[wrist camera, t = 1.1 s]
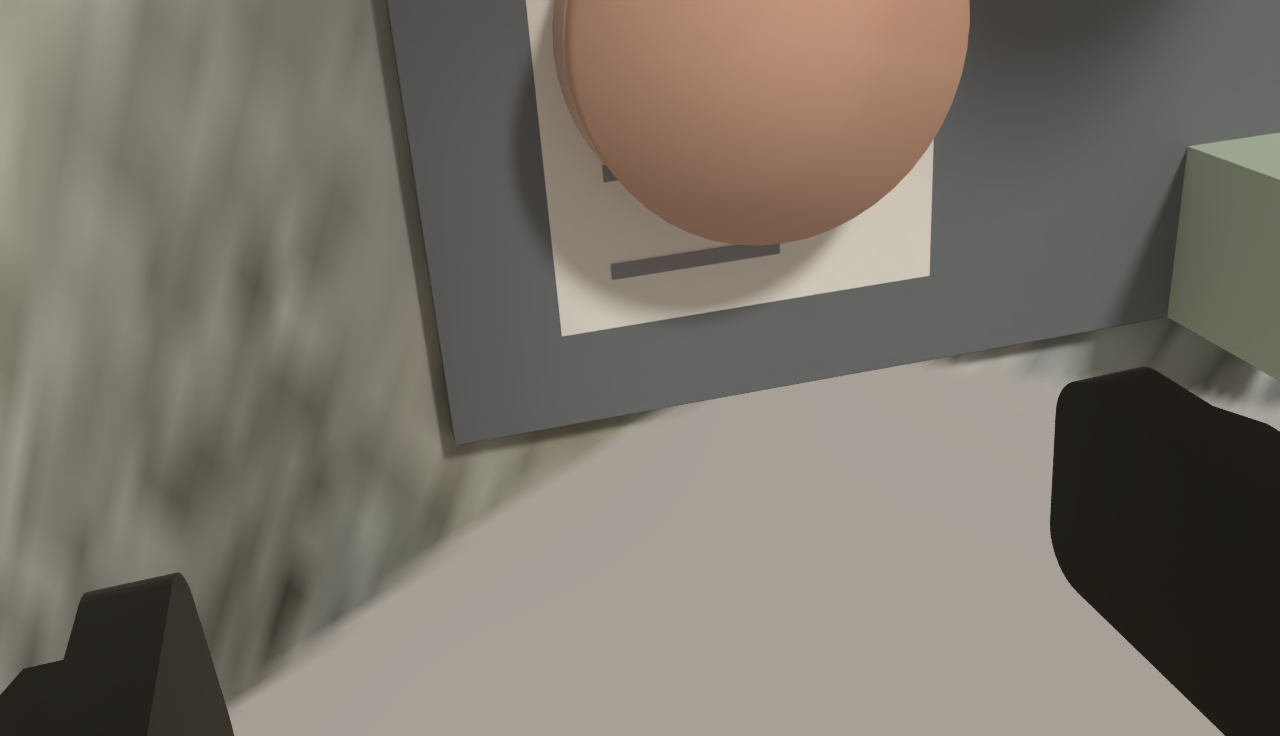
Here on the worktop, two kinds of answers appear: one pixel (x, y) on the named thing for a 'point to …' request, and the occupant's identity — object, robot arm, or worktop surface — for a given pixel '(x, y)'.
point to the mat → (828, 262)
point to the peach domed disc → (759, 104)
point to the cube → (1231, 249)
